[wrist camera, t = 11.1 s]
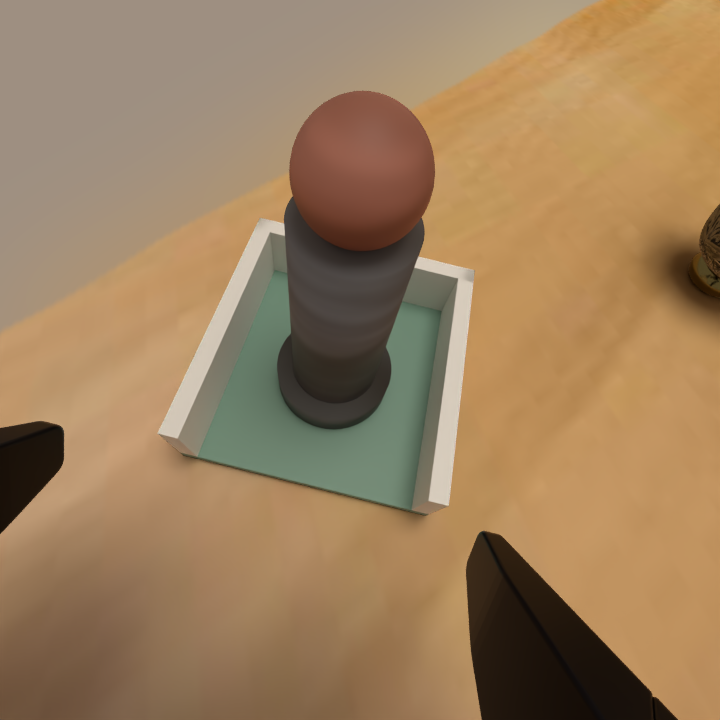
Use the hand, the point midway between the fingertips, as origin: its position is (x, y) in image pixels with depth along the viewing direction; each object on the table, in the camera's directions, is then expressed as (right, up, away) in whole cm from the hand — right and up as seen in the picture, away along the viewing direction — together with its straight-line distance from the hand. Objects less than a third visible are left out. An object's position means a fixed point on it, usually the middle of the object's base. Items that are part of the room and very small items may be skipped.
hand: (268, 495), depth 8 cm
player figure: (+1, +2, +12) cm, 12 cm away
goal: (+1, +2, +13) cm, 13 cm away
